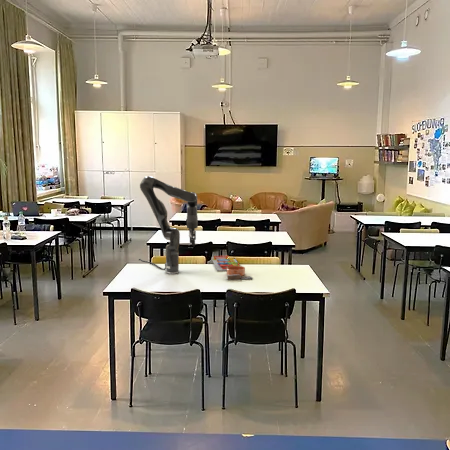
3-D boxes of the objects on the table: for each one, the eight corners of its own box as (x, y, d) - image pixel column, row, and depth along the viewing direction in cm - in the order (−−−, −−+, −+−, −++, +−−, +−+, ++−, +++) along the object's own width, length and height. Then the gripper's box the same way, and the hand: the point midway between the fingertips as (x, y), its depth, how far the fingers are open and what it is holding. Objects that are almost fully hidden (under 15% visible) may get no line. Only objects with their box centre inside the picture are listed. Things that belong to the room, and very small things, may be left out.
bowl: (224, 272, 330) (224, 266, 329) (242, 271, 333) (242, 265, 332) (229, 277, 317) (229, 270, 316) (247, 276, 320) (247, 269, 319)
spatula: (228, 280, 309) (228, 276, 308) (226, 278, 314) (226, 274, 313) (252, 279, 313) (252, 274, 312) (250, 277, 318) (250, 272, 317)
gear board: (242, 267, 337) (217, 268, 334) (242, 270, 337) (217, 271, 335) (233, 254, 381) (211, 255, 378) (233, 257, 381) (211, 258, 379)
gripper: (185, 220, 316) (185, 242, 318) (188, 222, 302) (188, 246, 305) (195, 219, 318) (195, 242, 320) (199, 222, 304) (199, 245, 306)
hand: (192, 244), depth 312 cm, fingers open, 8 cm apart
